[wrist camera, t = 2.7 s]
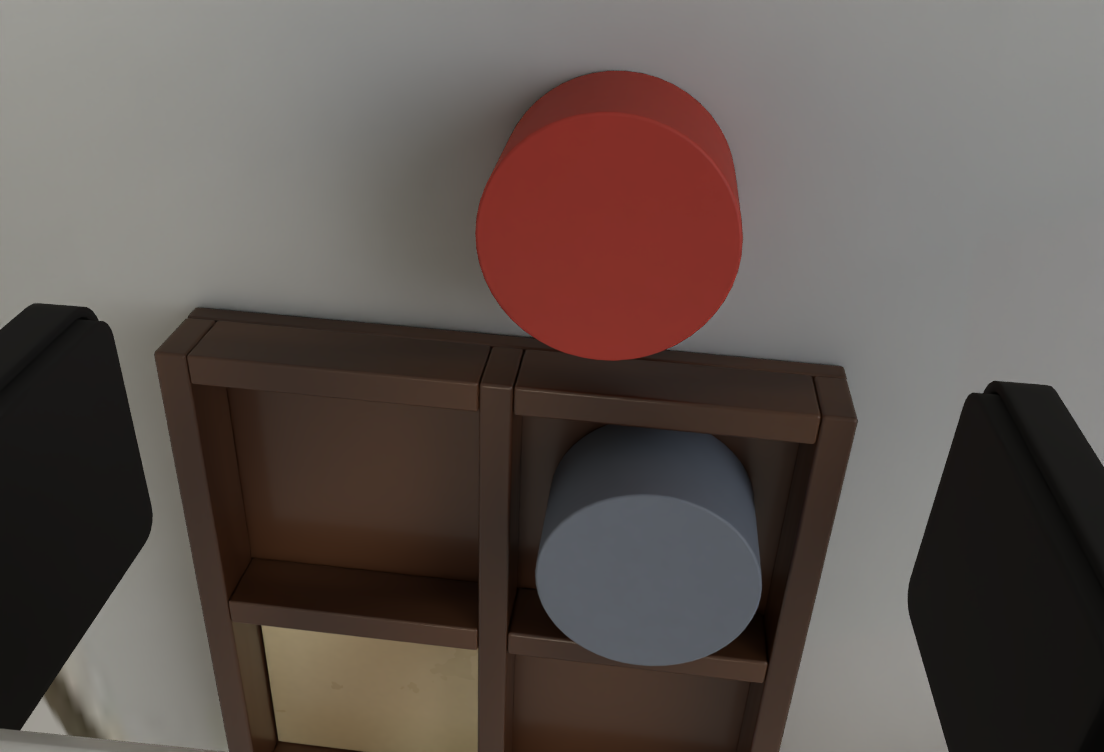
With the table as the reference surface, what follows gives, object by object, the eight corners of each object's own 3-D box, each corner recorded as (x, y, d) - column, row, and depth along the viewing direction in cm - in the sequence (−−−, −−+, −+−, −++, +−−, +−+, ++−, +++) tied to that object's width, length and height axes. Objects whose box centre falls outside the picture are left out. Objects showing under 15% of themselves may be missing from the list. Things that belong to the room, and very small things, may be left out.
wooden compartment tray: (844, 365, 21) (859, 419, 19) (748, 796, 28) (752, 865, 26) (195, 306, 22) (152, 352, 20) (264, 735, 29) (236, 797, 27)
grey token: (768, 427, 21) (779, 508, 19) (738, 588, 24) (745, 679, 21) (554, 406, 22) (538, 484, 19) (546, 567, 24) (531, 654, 22)
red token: (751, 79, 18) (761, 123, 16) (719, 304, 20) (724, 372, 18) (502, 61, 18) (474, 101, 16) (498, 285, 21) (474, 350, 18)
